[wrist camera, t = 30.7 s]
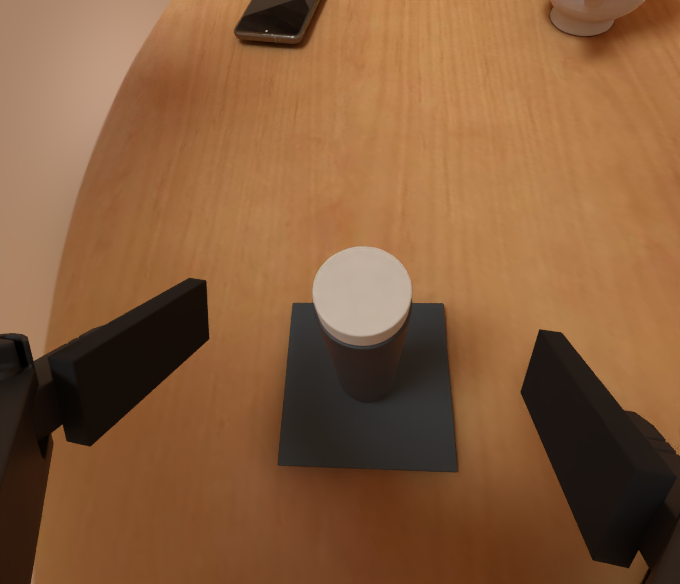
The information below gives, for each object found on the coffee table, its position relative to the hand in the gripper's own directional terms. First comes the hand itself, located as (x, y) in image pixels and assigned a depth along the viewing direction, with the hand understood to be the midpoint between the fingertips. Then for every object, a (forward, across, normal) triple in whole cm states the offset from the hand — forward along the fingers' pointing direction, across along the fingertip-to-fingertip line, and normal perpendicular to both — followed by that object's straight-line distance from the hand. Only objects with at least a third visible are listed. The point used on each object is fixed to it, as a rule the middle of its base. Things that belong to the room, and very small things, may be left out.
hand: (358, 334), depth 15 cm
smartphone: (+35, -15, +21) cm, 43 cm away
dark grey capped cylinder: (+6, 0, -6) cm, 9 cm away
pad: (+7, 0, -7) cm, 10 cm away
